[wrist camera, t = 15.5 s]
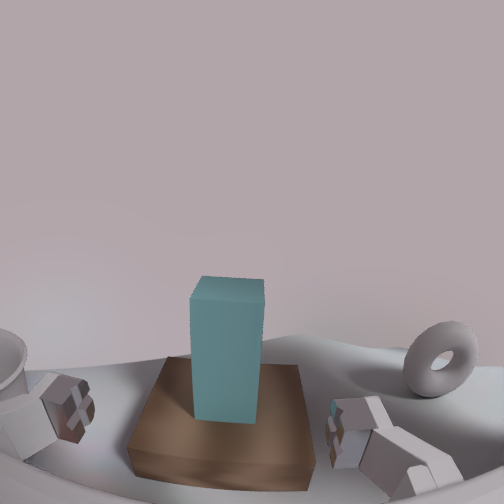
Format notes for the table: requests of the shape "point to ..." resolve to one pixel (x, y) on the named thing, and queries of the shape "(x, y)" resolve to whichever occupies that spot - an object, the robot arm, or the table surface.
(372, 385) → the table surface
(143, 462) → the oak base
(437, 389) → the donut
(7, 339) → the teacup
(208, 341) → the teal block
